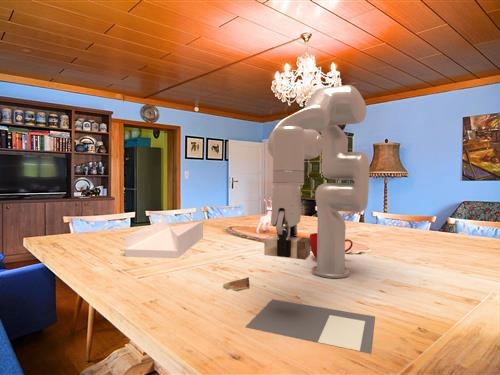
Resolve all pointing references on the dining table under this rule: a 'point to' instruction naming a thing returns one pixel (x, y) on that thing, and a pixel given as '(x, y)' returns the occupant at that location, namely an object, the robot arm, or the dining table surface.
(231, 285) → the shard
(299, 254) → the tan tapered block
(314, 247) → the ceramic cup
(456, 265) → the dining table surface
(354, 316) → the mat
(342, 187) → the robot arm
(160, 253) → the hipped roof block
